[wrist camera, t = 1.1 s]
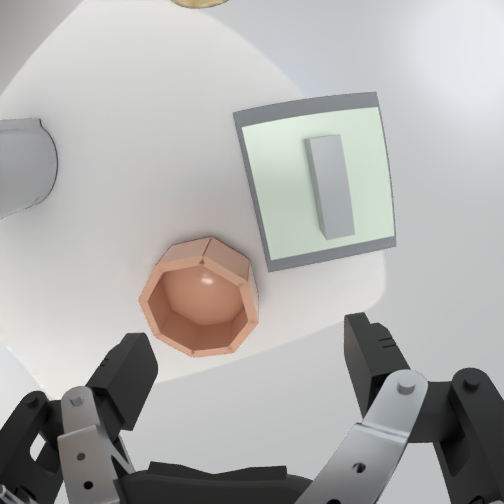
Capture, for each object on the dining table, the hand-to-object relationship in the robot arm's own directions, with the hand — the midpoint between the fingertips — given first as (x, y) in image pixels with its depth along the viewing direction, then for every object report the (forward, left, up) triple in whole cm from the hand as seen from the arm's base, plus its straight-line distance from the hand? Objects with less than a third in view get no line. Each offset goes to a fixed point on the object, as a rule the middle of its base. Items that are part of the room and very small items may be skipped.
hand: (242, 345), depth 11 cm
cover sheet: (-3, +7, -17) cm, 18 cm away
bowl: (+5, -6, -17) cm, 19 cm away
